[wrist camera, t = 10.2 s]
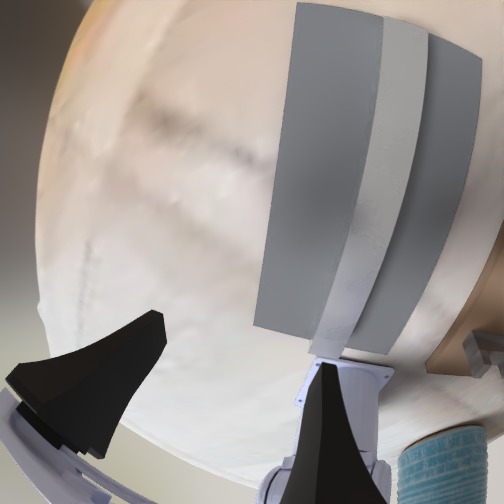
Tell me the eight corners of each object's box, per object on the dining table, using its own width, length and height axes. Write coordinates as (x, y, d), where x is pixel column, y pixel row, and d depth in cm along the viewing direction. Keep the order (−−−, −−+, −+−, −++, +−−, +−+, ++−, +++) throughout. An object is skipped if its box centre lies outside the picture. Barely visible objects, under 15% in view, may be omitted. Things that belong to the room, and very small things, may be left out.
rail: (339, 337, 20) (338, 359, 18) (311, 331, 21) (307, 353, 19) (415, 41, 9) (428, 30, 7) (377, 29, 10) (384, 15, 8)
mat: (386, 350, 20) (386, 354, 20) (255, 320, 23) (253, 325, 22) (477, 60, 8) (481, 58, 8) (298, 5, 11) (296, 2, 10)
